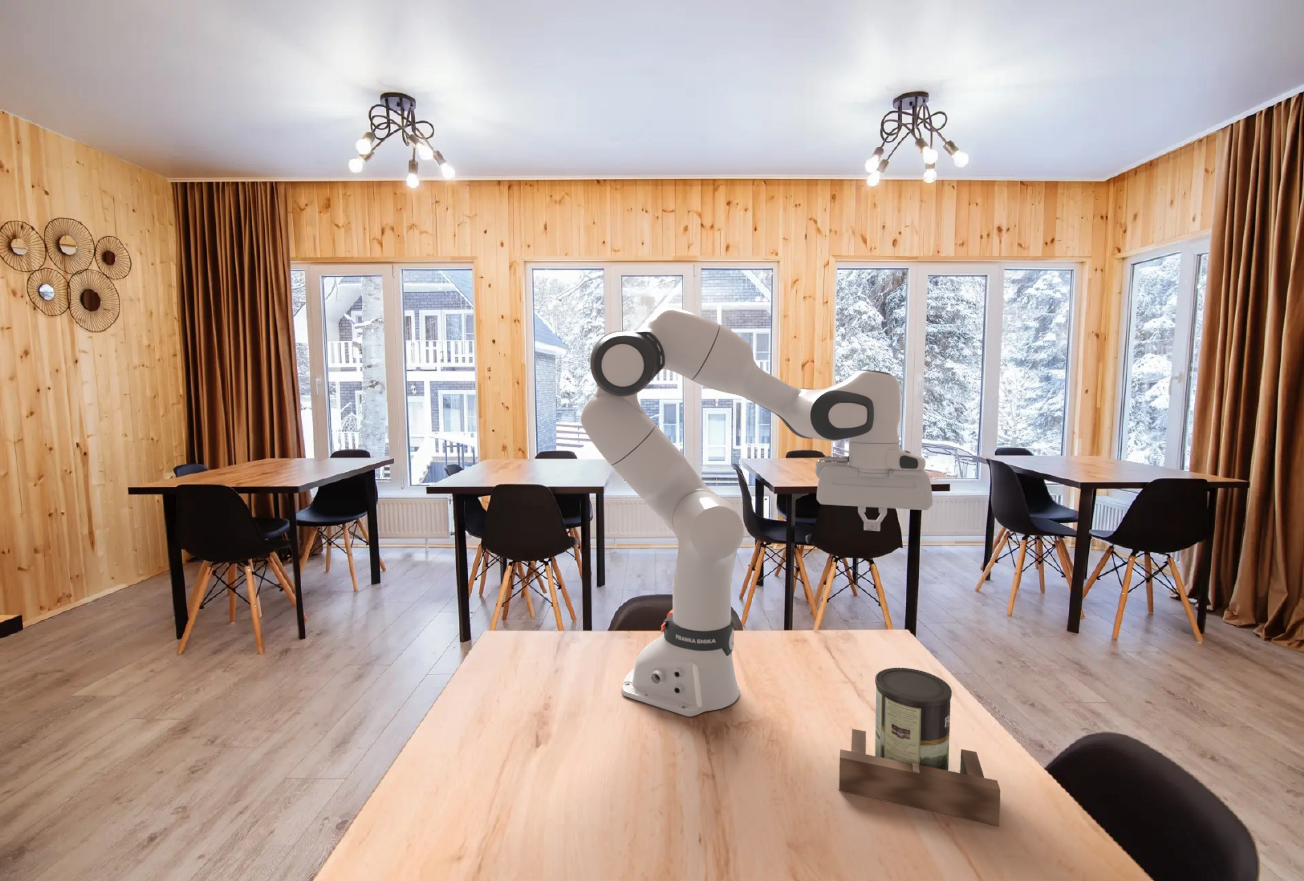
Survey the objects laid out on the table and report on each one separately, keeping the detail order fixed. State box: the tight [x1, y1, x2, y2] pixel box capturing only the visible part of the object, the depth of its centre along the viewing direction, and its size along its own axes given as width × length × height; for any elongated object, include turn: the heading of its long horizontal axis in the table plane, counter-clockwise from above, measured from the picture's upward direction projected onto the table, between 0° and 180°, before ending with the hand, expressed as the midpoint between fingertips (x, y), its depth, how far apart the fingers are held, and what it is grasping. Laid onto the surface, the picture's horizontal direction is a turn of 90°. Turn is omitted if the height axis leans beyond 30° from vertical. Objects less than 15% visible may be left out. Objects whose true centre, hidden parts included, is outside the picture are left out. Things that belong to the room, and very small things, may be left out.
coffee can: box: [874, 667, 953, 771], centre depth 85 cm, size 10×10×14 cm
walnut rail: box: [838, 728, 1001, 827], centre depth 82 cm, size 20×8×5 cm, turn 69°
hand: (871, 530), depth 108 cm, fingers closed
